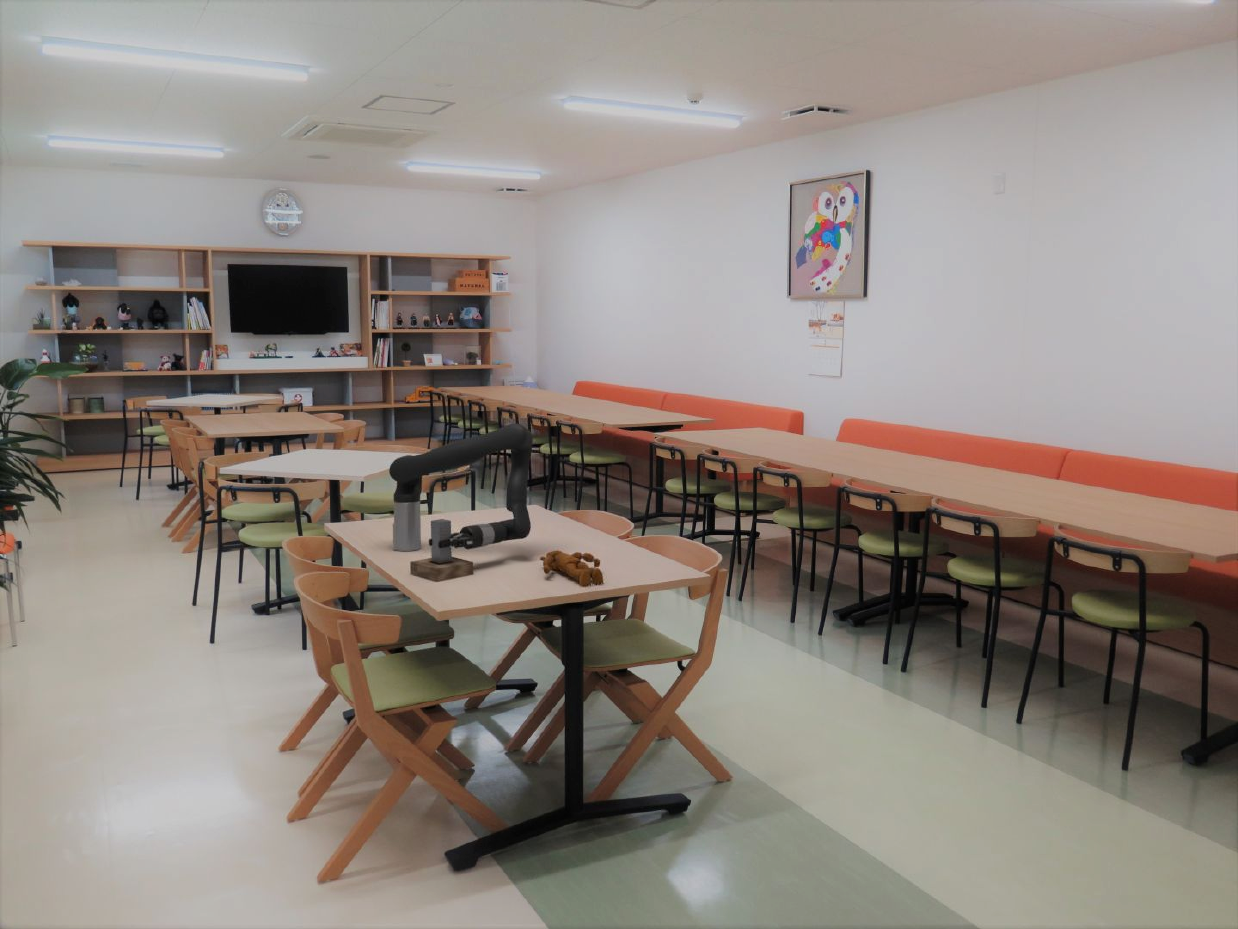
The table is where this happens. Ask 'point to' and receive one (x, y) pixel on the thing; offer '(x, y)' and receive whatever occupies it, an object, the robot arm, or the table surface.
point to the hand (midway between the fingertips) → (434, 543)
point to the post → (440, 533)
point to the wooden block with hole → (441, 569)
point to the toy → (574, 566)
